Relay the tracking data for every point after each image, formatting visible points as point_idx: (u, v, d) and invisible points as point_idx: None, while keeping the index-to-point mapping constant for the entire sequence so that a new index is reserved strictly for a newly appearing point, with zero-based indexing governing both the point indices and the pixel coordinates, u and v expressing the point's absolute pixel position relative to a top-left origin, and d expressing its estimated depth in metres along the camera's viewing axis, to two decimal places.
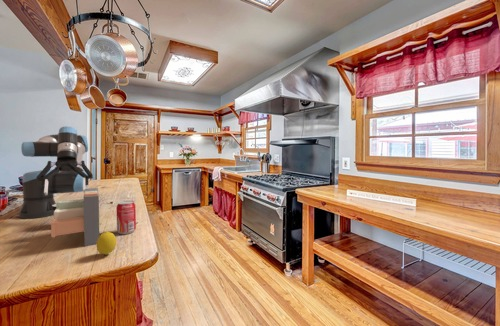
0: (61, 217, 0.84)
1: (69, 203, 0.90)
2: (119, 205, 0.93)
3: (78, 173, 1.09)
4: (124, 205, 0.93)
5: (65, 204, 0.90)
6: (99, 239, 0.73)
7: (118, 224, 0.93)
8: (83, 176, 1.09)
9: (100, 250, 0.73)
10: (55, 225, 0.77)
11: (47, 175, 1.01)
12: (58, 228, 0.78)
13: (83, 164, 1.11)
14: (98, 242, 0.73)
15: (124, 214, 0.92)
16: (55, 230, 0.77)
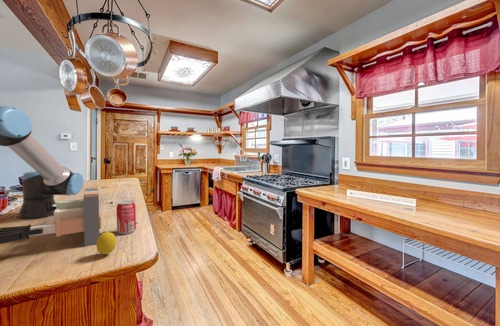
0: (61, 217, 0.84)
1: (69, 203, 0.90)
2: (119, 205, 0.93)
3: None
4: (124, 205, 0.93)
5: (65, 204, 0.90)
6: (99, 239, 0.73)
7: (118, 224, 0.93)
8: None
9: (100, 250, 0.73)
10: (59, 224, 0.78)
11: None
12: (63, 227, 0.79)
13: None
14: (98, 242, 0.73)
15: (124, 214, 0.92)
16: (60, 229, 0.78)
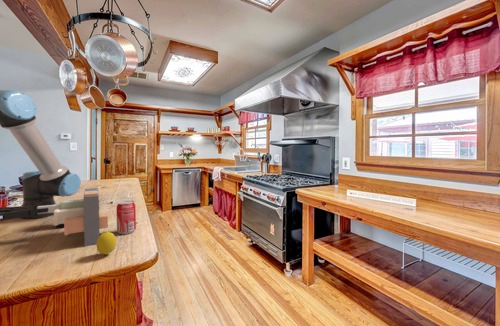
0: (61, 217, 0.84)
1: (72, 203, 0.91)
2: (119, 205, 0.93)
3: None
4: (124, 205, 0.93)
5: (69, 204, 0.90)
6: (99, 239, 0.73)
7: (118, 224, 0.93)
8: None
9: (100, 250, 0.73)
10: (67, 223, 0.79)
11: None
12: (71, 226, 0.80)
13: None
14: (98, 242, 0.73)
15: (124, 214, 0.92)
16: (68, 228, 0.79)
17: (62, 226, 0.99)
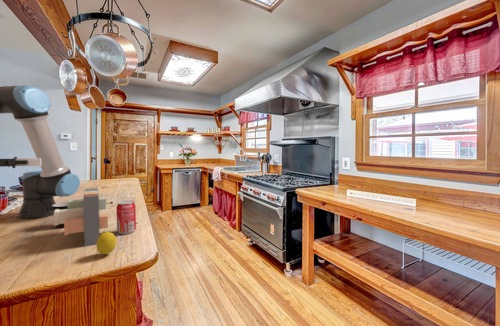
0: (61, 217, 0.84)
1: (80, 202, 0.92)
2: (119, 205, 0.93)
3: None
4: (124, 205, 0.93)
5: (76, 203, 0.92)
6: (99, 239, 0.73)
7: (118, 224, 0.93)
8: None
9: (100, 250, 0.73)
10: (67, 223, 0.79)
11: None
12: (71, 226, 0.80)
13: None
14: (98, 242, 0.73)
15: (124, 214, 0.92)
16: (68, 228, 0.79)
17: (62, 226, 0.99)
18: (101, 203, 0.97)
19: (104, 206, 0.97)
